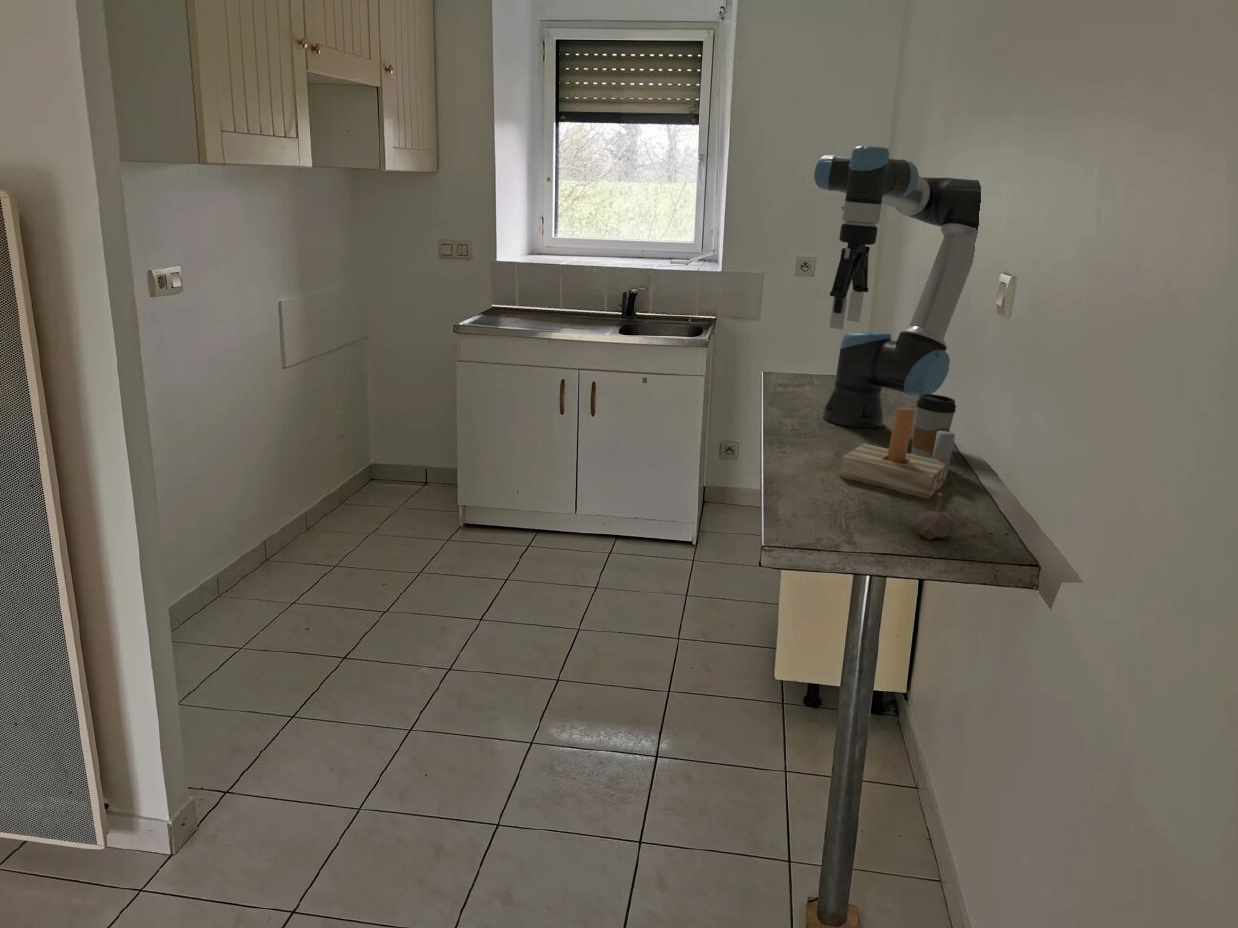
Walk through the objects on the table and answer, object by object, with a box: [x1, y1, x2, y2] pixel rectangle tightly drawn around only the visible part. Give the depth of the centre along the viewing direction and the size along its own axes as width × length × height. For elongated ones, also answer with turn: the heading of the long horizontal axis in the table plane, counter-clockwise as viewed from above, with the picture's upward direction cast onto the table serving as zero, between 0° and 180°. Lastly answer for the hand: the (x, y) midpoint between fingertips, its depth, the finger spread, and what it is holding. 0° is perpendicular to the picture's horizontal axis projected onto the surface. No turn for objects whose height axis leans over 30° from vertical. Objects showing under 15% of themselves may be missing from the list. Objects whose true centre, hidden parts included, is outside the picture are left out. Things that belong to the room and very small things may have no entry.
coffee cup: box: [910, 393, 957, 459], centre depth 211 cm, size 8×8×15 cm
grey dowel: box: [932, 431, 956, 482], centre depth 201 cm, size 4×4×10 cm
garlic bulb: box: [914, 492, 958, 540], centre depth 166 cm, size 8×7×8 cm
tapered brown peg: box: [887, 406, 916, 464], centre depth 196 cm, size 4×4×14 cm
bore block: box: [839, 443, 950, 500], centre depth 197 cm, size 14×18×4 cm
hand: (844, 324), depth 207 cm, fingers open, 13 cm apart
